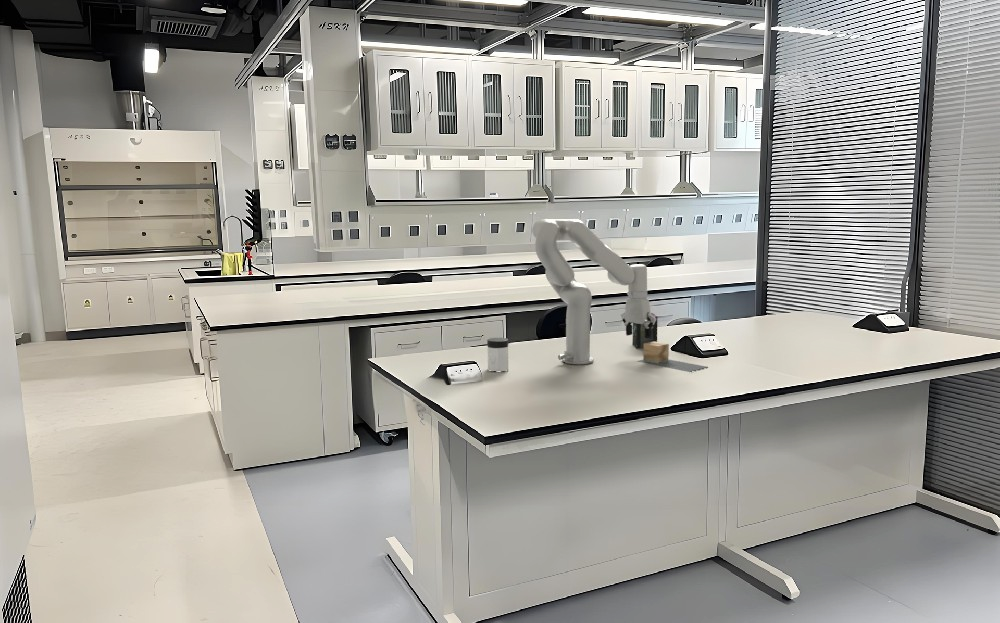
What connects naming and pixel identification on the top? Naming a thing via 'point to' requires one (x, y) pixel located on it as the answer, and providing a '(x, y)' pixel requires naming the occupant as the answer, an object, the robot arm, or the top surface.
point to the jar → (497, 354)
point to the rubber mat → (677, 365)
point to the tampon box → (643, 334)
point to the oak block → (656, 352)
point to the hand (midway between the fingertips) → (638, 336)
